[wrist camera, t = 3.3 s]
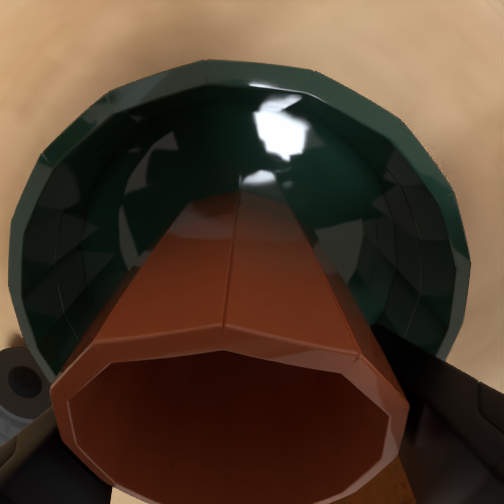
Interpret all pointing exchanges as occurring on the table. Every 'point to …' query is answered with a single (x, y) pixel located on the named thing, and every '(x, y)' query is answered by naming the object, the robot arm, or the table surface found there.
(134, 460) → the small pot
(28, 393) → the flashlight
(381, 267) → the planter
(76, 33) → the table surface
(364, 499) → the brick
